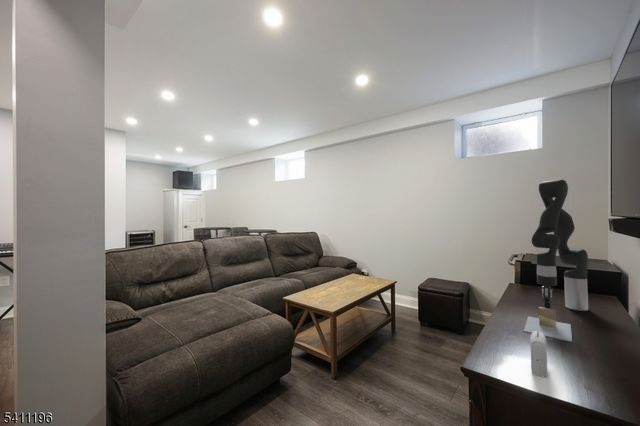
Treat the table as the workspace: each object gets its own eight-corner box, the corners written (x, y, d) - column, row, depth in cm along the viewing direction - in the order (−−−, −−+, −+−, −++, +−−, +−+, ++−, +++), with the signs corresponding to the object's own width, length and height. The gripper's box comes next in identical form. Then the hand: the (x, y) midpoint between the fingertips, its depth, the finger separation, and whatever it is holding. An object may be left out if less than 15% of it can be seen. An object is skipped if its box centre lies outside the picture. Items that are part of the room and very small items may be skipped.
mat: (528, 317, 137) (528, 316, 137) (570, 325, 126) (570, 324, 126) (523, 331, 121) (523, 330, 121) (572, 342, 110) (572, 341, 110)
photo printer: (547, 378, 86) (546, 340, 87) (530, 374, 89) (529, 337, 89) (547, 364, 94) (546, 329, 94) (531, 360, 97) (530, 326, 97)
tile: (539, 323, 128) (538, 306, 129) (556, 326, 124) (555, 309, 125) (539, 324, 127) (538, 307, 127) (556, 327, 123) (555, 310, 123)
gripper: (537, 271, 138) (538, 304, 138) (535, 275, 128) (536, 311, 128) (556, 273, 133) (558, 307, 133) (556, 277, 123) (557, 315, 123)
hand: (547, 309), depth 131 cm, fingers closed
